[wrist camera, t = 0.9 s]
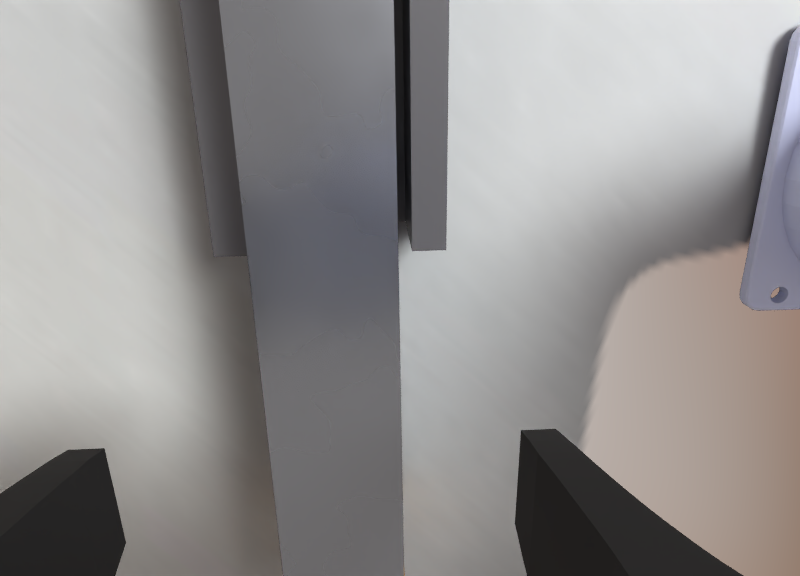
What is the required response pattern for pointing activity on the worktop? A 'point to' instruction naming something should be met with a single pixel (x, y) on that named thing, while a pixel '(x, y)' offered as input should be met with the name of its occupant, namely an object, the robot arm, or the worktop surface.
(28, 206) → the worktop surface
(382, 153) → the bar
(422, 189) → the grey u-shaped channel
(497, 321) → the worktop surface
